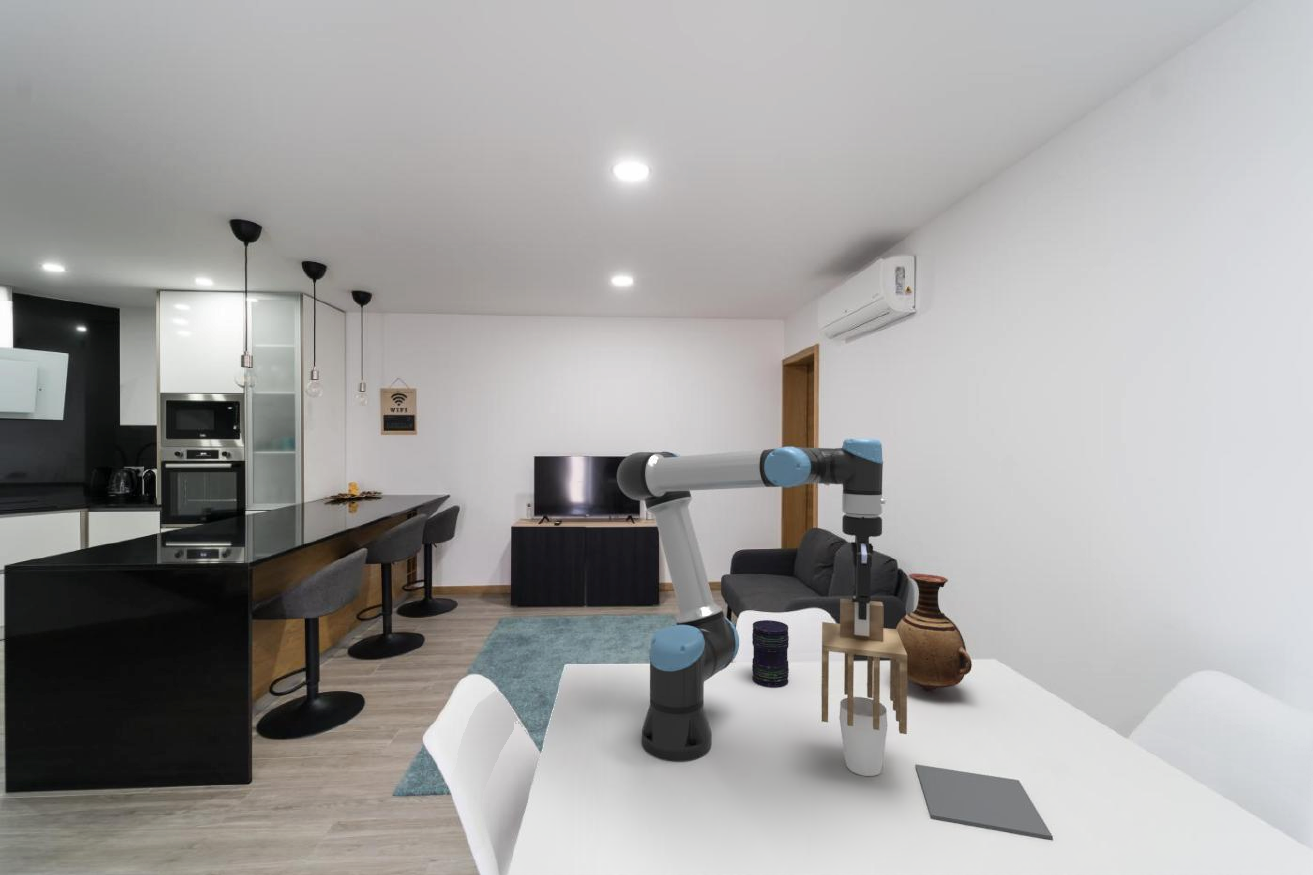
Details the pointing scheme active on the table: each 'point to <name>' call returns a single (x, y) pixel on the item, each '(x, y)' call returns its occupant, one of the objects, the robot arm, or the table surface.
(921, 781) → the mat
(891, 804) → the table surface
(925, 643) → the vase
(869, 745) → the cup
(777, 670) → the dark blue cylinder
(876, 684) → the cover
